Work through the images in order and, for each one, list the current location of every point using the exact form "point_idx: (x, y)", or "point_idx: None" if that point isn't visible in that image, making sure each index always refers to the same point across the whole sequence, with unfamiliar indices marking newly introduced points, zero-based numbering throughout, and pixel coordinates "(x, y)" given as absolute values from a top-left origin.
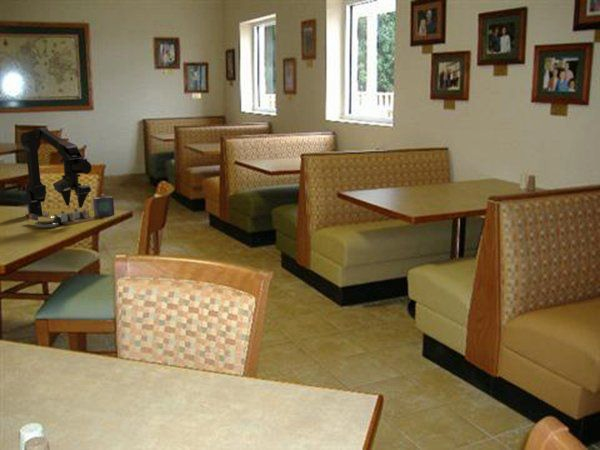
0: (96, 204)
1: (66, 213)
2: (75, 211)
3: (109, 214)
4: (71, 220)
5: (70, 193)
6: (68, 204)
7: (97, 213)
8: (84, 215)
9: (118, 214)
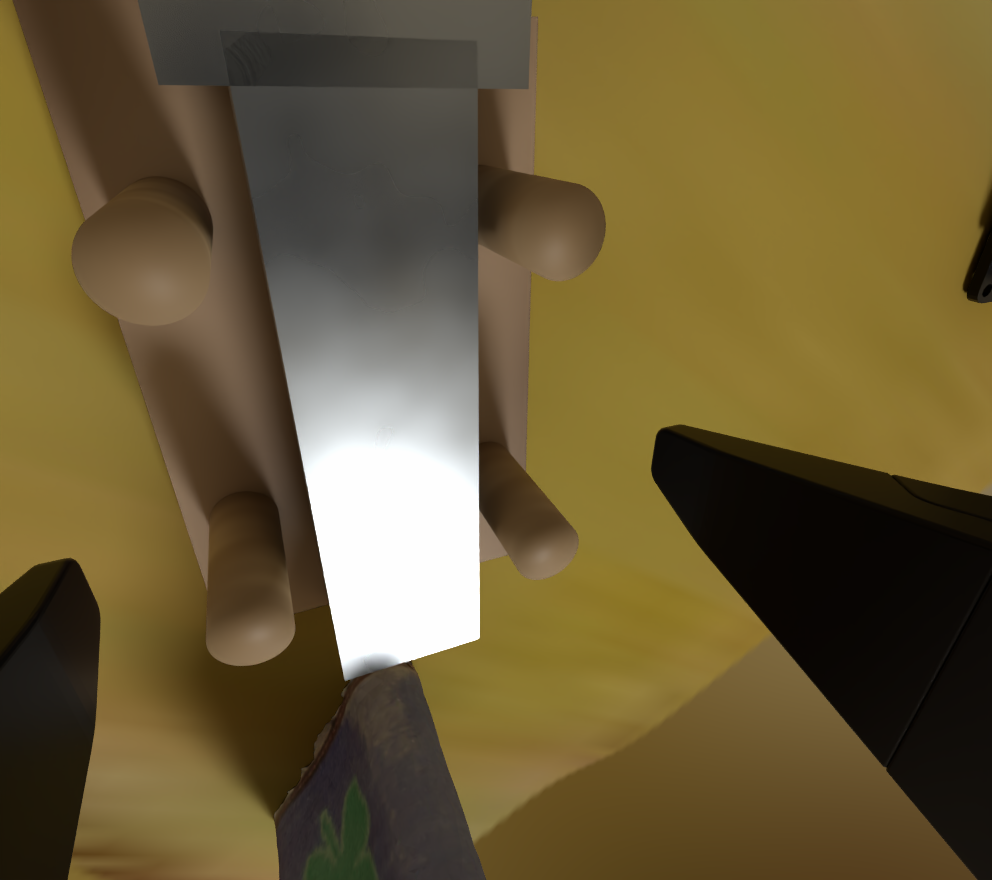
0: (393, 861)
1: (354, 188)
2: (441, 476)
3: (294, 807)
4: (145, 179)
5: (904, 782)
6: (667, 479)
7: (361, 721)
8: (228, 533)
9: None
